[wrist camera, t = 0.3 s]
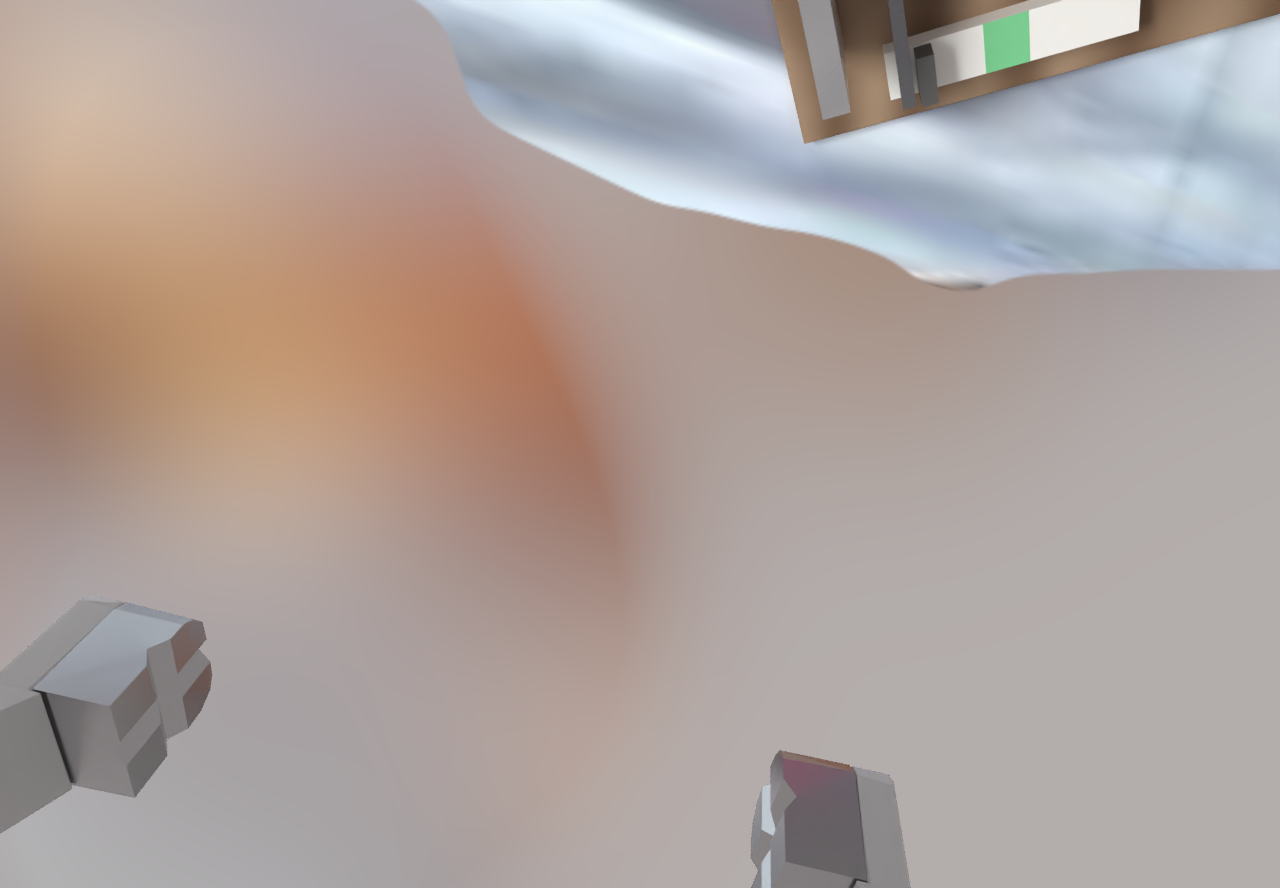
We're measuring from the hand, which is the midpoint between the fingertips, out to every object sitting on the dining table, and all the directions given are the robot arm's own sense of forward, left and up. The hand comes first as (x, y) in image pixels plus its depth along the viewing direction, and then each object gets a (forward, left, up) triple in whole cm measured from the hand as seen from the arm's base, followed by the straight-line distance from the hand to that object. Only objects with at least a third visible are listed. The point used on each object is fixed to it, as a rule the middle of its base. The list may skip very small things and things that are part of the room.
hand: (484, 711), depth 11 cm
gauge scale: (-7, +18, -50) cm, 54 cm away
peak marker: (-3, +16, -48) cm, 51 cm away
